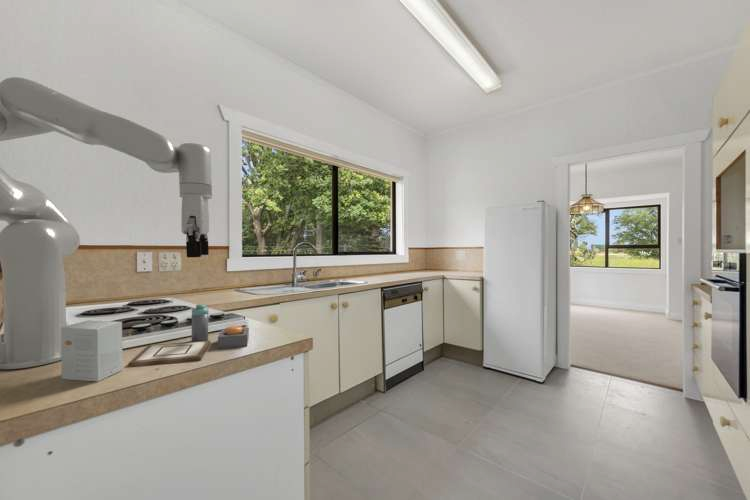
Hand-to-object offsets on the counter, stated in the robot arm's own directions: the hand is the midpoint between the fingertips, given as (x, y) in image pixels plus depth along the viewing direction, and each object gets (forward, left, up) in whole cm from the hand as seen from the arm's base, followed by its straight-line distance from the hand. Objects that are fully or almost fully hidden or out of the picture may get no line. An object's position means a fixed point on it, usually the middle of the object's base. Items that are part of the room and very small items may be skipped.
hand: (198, 256), depth 84 cm
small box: (-16, -17, -24) cm, 33 cm away
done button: (+9, -3, -21) cm, 23 cm away
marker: (0, +1, -24) cm, 24 cm away
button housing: (+9, -3, -24) cm, 25 cm away
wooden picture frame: (-4, -8, -24) cm, 25 cm away
